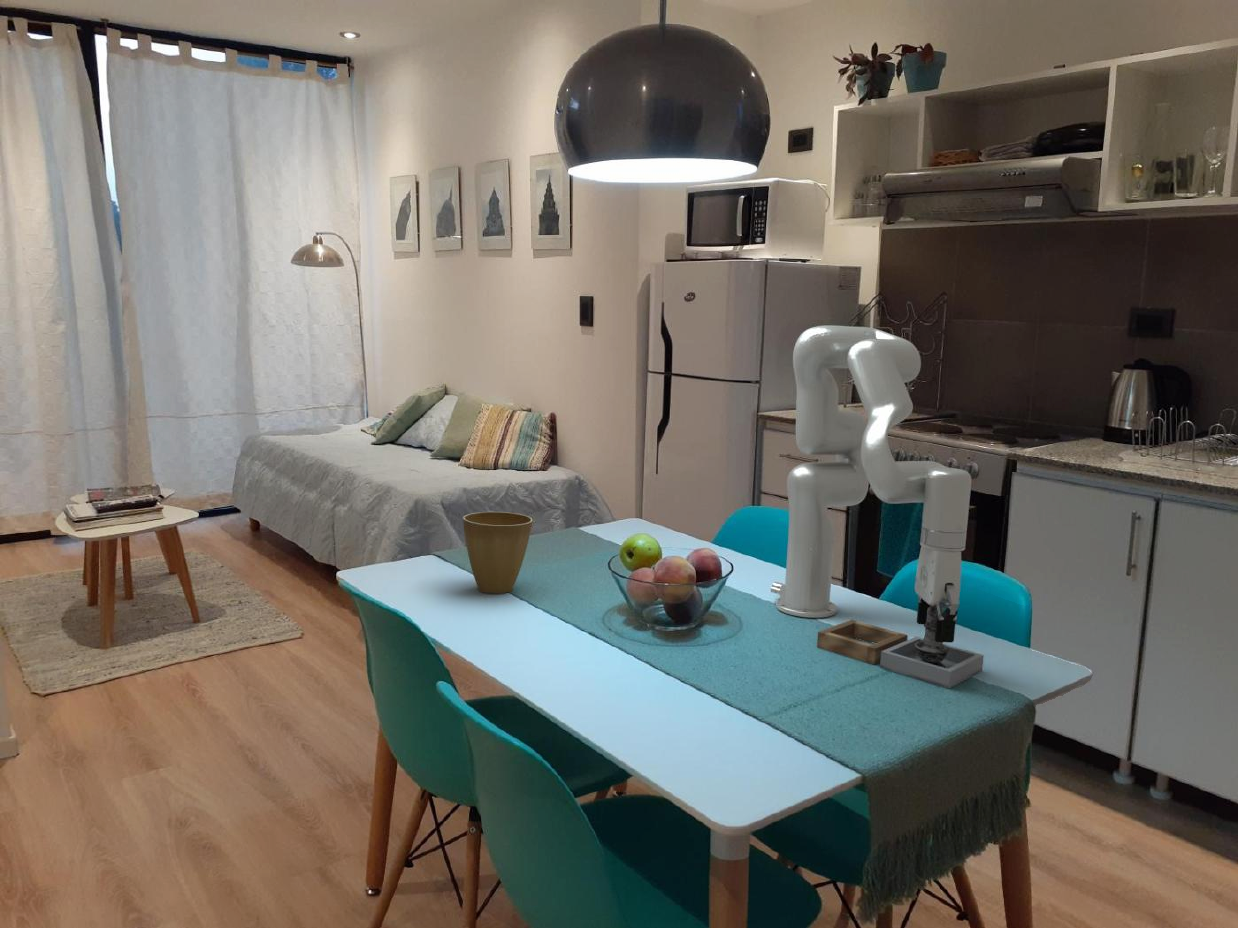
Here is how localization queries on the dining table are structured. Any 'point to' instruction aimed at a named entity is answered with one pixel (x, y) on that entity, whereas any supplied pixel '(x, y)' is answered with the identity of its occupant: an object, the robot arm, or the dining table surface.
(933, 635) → the grey chess piece
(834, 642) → the wooden tray
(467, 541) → the plant pot
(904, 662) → the grey tray
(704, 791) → the dining table surface
